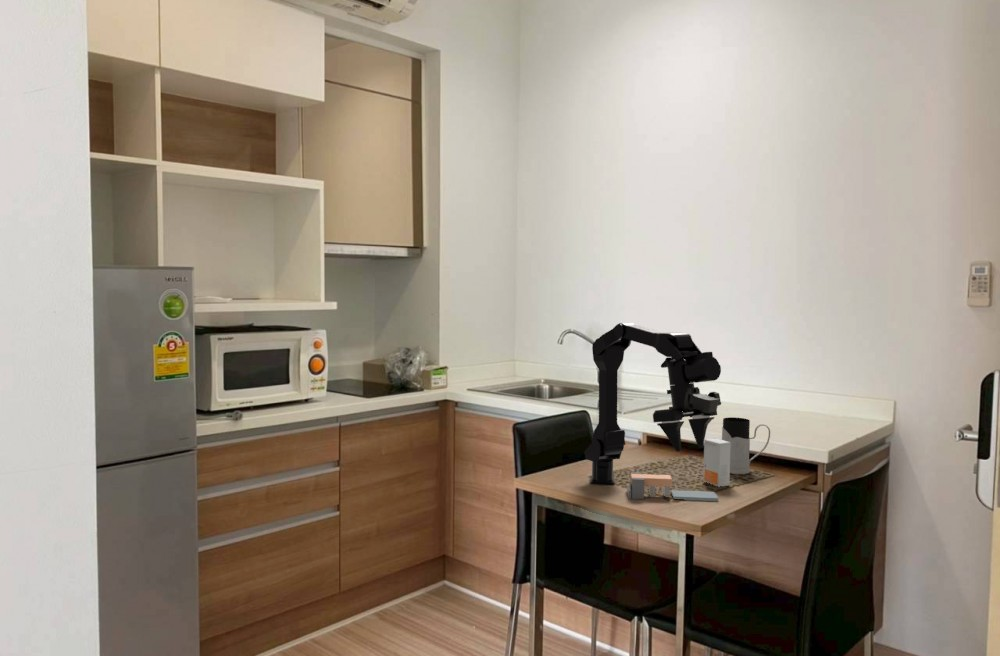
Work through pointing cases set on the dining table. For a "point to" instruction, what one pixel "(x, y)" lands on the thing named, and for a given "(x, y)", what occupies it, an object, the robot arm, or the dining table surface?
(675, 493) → the mat
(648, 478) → the bar
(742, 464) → the grey mug
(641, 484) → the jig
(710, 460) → the skincare box
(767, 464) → the dining table surface
